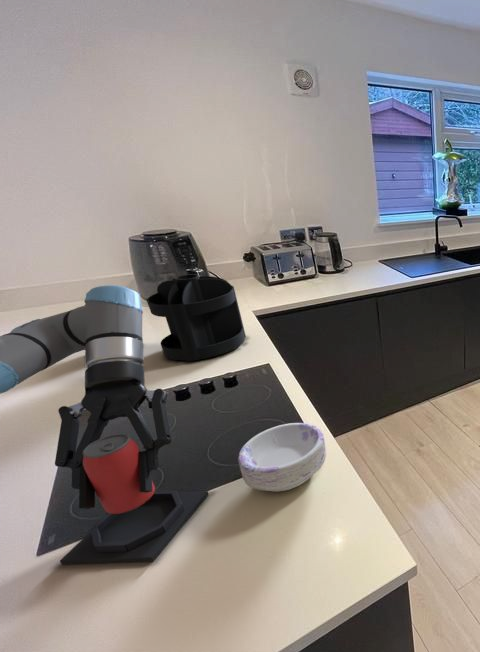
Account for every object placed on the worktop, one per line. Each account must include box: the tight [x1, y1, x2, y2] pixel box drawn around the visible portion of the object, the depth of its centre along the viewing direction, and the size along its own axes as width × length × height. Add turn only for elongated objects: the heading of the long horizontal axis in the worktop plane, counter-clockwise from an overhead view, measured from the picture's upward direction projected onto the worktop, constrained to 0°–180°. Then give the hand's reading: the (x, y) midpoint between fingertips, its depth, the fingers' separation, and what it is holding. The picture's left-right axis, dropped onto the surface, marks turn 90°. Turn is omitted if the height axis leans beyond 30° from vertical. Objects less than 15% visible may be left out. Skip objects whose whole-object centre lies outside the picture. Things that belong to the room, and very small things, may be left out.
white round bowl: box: [237, 422, 327, 493], centre depth 82 cm, size 15×15×8 cm
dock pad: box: [59, 490, 209, 566], centre depth 70 cm, size 14×14×2 cm
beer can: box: [83, 433, 156, 514], centre depth 66 cm, size 7×7×12 cm
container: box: [146, 273, 247, 362], centre depth 131 cm, size 22×23×25 cm
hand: (117, 499), depth 64 cm, fingers closed on beer can, 6 cm apart
